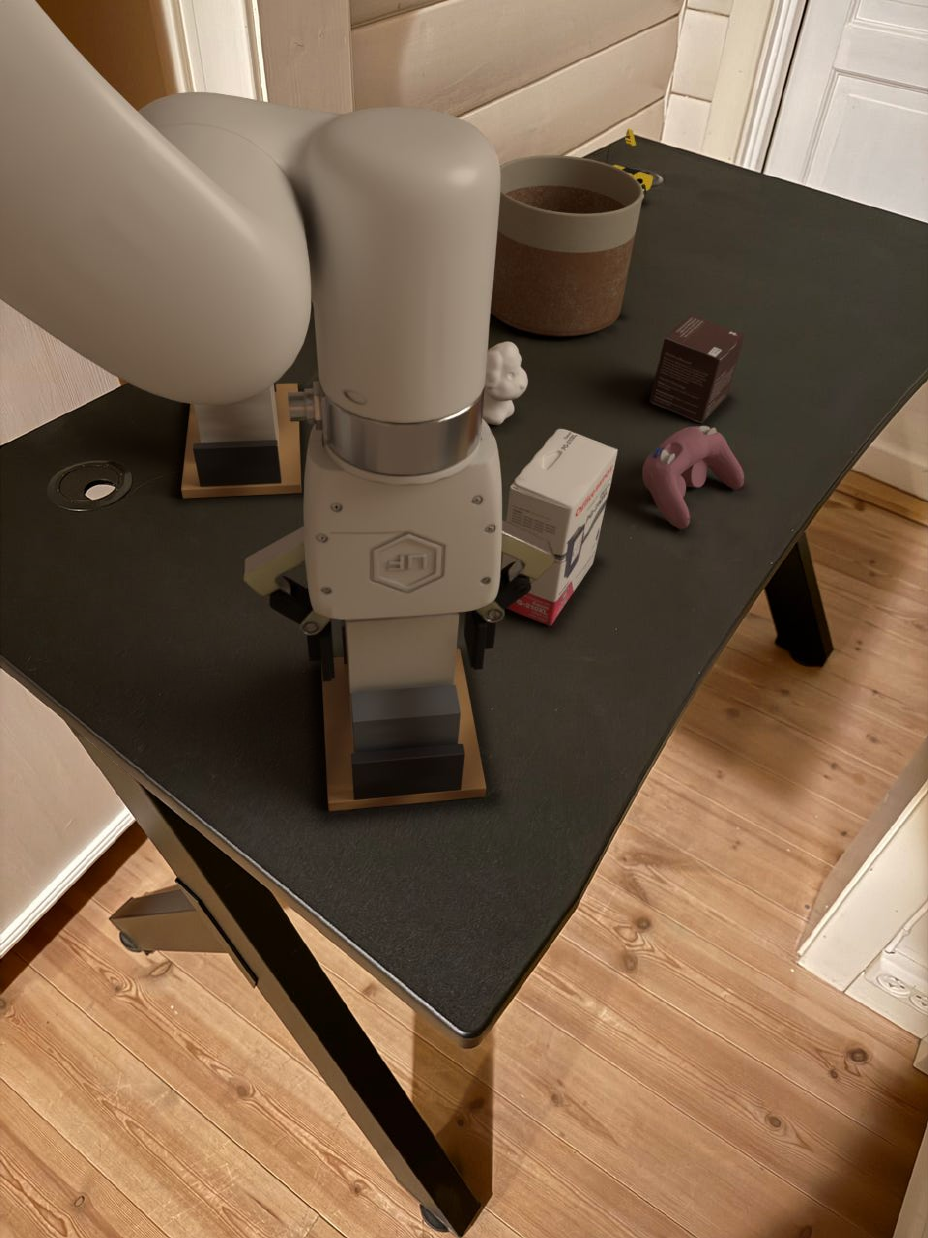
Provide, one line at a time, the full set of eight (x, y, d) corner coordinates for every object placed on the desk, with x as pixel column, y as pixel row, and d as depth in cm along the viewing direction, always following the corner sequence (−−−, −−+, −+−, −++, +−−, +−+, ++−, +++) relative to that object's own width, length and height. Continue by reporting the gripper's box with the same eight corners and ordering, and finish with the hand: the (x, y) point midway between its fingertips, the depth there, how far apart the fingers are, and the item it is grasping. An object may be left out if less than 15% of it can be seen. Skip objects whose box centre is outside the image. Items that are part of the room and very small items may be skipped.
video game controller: (707, 483, 85) (695, 411, 82) (749, 486, 82) (739, 412, 79) (642, 528, 80) (627, 454, 77) (685, 533, 77) (672, 456, 74)
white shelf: (182, 498, 77) (153, 362, 68) (193, 395, 88) (169, 264, 78) (301, 493, 78) (288, 358, 69) (298, 391, 89) (286, 263, 80)
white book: (353, 749, 59) (345, 622, 50) (351, 722, 61) (343, 595, 52) (450, 740, 60) (459, 615, 51) (446, 714, 61) (454, 588, 53)
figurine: (503, 441, 85) (511, 366, 80) (436, 411, 88) (439, 335, 82) (534, 416, 88) (544, 342, 83) (468, 388, 91) (473, 314, 86)
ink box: (552, 629, 69) (574, 508, 60) (494, 604, 70) (507, 483, 62) (595, 564, 74) (621, 444, 66) (540, 542, 76) (558, 423, 67)
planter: (586, 269, 111) (604, 150, 101) (643, 333, 101) (670, 207, 91) (463, 281, 107) (470, 159, 97) (510, 349, 97) (523, 220, 87)
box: (674, 378, 95) (691, 312, 90) (727, 399, 93) (747, 333, 87) (647, 403, 91) (663, 336, 86) (701, 425, 89) (721, 358, 84)
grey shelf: (328, 811, 57) (321, 741, 51) (321, 667, 65) (314, 593, 60) (485, 796, 58) (494, 726, 53) (459, 657, 66) (465, 583, 61)
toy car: (616, 225, 121) (628, 159, 115) (566, 208, 124) (575, 143, 118) (656, 198, 128) (669, 134, 122) (608, 183, 131) (618, 120, 125)
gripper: (207, 469, 39) (254, 719, 51) (602, 452, 41) (553, 694, 53) (215, 374, 44) (255, 622, 56) (565, 364, 46) (529, 604, 59)
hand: (401, 657), depth 55 cm, fingers open, 8 cm apart
